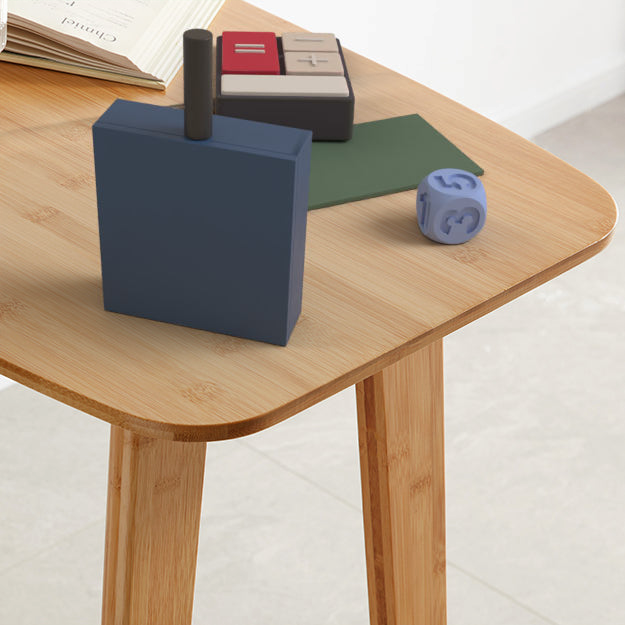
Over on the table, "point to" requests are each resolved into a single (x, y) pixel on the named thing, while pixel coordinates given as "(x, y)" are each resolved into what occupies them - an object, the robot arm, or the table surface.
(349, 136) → the calculator
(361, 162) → the mat
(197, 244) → the dustpan
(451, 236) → the decorative dice
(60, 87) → the table surface
